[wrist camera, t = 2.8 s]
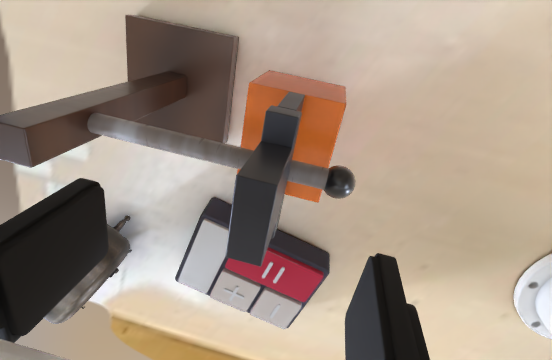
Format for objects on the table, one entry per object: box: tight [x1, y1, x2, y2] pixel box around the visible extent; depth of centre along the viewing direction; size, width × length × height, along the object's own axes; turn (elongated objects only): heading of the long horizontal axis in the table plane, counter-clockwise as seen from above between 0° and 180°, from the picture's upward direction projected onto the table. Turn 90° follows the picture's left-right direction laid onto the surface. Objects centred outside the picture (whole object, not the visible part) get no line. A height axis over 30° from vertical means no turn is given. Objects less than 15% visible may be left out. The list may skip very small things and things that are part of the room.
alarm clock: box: [16, 215, 132, 341], centre depth 35 cm, size 11×5×16 cm, turn 135°
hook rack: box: [0, 15, 355, 199], centre depth 23 cm, size 21×10×18 cm, turn 80°
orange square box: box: [226, 70, 346, 267], centre depth 19 cm, size 6×7×15 cm
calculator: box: [175, 198, 329, 329], centre depth 37 cm, size 11×4×15 cm
